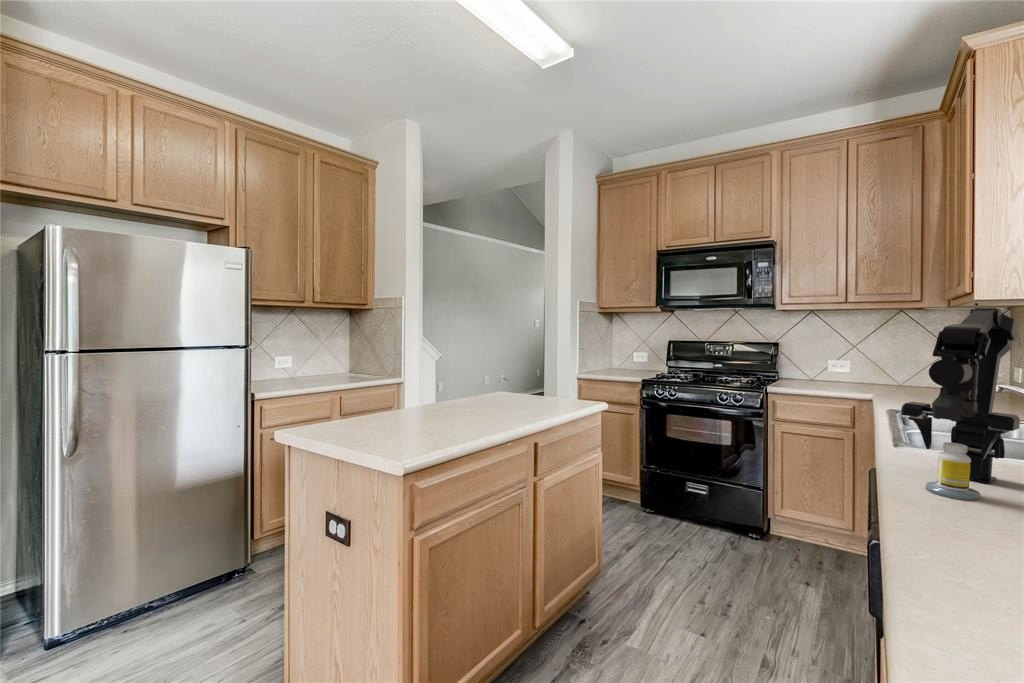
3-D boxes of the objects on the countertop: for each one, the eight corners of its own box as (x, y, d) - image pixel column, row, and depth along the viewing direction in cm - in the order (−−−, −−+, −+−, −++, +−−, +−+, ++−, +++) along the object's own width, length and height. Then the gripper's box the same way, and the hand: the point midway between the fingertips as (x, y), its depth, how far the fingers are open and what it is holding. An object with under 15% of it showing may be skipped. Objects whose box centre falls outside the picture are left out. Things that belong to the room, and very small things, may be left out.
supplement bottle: (975, 493, 107) (978, 448, 106) (946, 491, 108) (949, 446, 107) (958, 485, 112) (961, 442, 111) (930, 483, 113) (933, 440, 113)
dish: (933, 483, 116) (933, 478, 116) (985, 495, 109) (985, 490, 109) (919, 490, 111) (919, 485, 111) (972, 503, 104) (973, 498, 104)
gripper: (893, 380, 112) (889, 448, 113) (1008, 392, 96) (1002, 471, 97) (912, 378, 118) (908, 442, 119) (1023, 388, 102) (1017, 462, 103)
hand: (954, 453), depth 109 cm, fingers open, 9 cm apart
